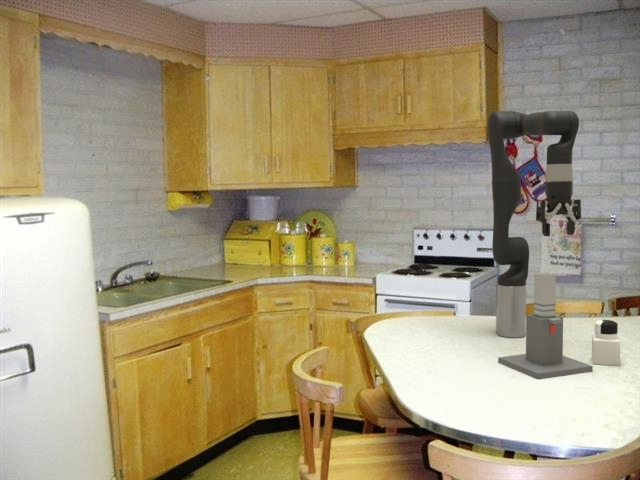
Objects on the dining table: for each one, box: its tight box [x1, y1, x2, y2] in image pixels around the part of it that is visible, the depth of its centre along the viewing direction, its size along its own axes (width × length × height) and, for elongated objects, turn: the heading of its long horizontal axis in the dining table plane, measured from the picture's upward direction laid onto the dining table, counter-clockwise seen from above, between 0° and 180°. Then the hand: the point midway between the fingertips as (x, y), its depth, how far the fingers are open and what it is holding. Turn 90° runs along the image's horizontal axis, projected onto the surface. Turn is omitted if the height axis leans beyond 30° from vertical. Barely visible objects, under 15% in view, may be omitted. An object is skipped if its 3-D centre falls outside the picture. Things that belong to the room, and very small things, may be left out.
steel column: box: [533, 272, 557, 319], centre depth 190 cm, size 4×4×18 cm
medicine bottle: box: [591, 319, 621, 367], centre depth 195 cm, size 7×7×12 cm
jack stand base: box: [497, 313, 593, 380], centre depth 191 cm, size 18×18×14 cm
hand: (558, 235), depth 199 cm, fingers open, 8 cm apart
